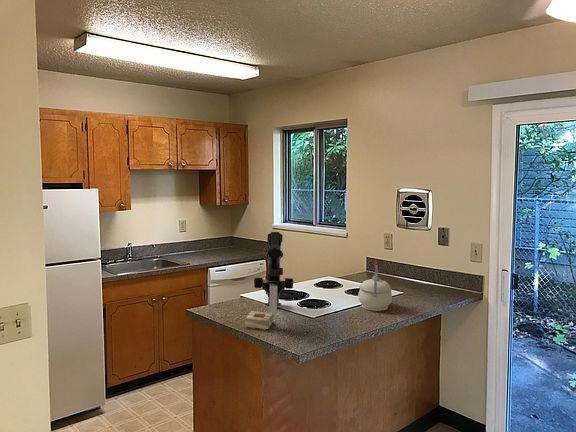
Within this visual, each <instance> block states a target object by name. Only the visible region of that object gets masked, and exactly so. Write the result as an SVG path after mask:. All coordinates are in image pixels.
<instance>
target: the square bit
mask: <svg viewBox="0 0 576 432" xmlns="http://www.w3.org/2000/svg"><path fill="white" fill-rule="evenodd" d="M268 306H269V307H268V313H273V314H274V313H278V306H277V284H270V300H269V305H268Z"/></svg>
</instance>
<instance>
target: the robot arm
mask: <svg viewBox="0 0 576 432" xmlns="http://www.w3.org/2000/svg"><path fill="white" fill-rule="evenodd" d="M283 239H284V238H283V234H282V233H280V232H279V231H270V233H267V243H268V250H267V251H266V258H267V259H268V261H267V262H268V264H267V265H268V267H267V268H268V270H267V279H263V277H254V279H253V280H254V281H253V285H254V286H253V287H254V288H255V289H262V290H264V291H265V294H266V295H267V298H268V299H267V303H265V306H269V300H270V284H277V307H278V306H280V305H282V302H279V301H280V295H281V296H282V295H283V291H285V289H288V290H290V289H291V290H292V289H293V288H294V278H292V277H287V278H285V277H284V278H285V279H284V280H281V276H283V275H284V268H283V267H281V259H283V257H284V252H283V251H282V249H281V247H282V243H283Z"/></svg>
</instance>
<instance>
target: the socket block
mask: <svg viewBox="0 0 576 432" xmlns="http://www.w3.org/2000/svg"><path fill="white" fill-rule="evenodd" d="M273 322H274V313H269V312H265V311H263V312H262V311H252V310H251V311H250V312H249V313H248V314H247V316H246V317H245V319H244V328H245V327H252V328H251V329H255V328H262V329H261V330H266V329H268V328H269V329H270V327H271V325H272V324H273ZM269 329H268V330H269Z"/></svg>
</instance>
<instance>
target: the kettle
mask: <svg viewBox="0 0 576 432" xmlns="http://www.w3.org/2000/svg"><path fill="white" fill-rule="evenodd" d="M373 269H374V275H373V276H372V278H370V279H367V280H364V281H363V282H362V283H361V284H360V285H359V286H358V287H359V291H358V296H357V297H358V301H359V302H360V304H361V307H362V309H365V310H368V311H373V312H375V311H376V312H382V311H386V310H388V308H389V306H390V305H391V304H392V301H393V294H392V291H393V289H392V287H391V286H390V284H389V282H387V281H385V280H382V279H380V277H379V275H378V273H379V269H380V261H379V260H378V259H376V260H374V265H373Z"/></svg>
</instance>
